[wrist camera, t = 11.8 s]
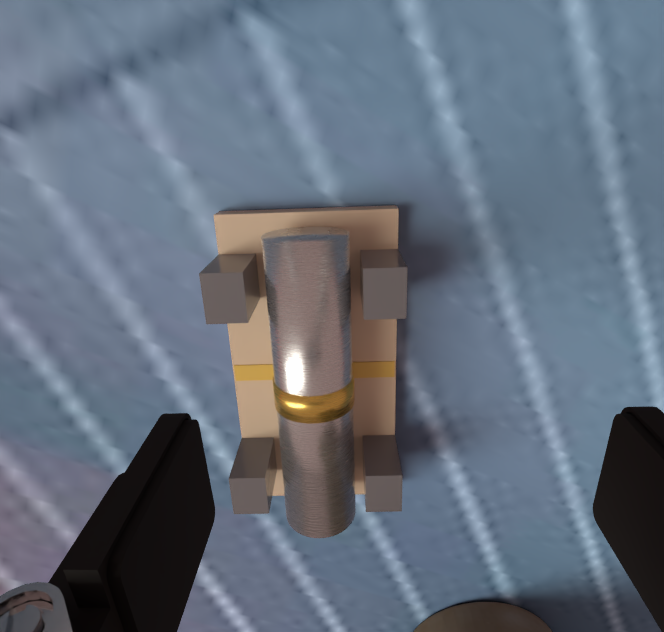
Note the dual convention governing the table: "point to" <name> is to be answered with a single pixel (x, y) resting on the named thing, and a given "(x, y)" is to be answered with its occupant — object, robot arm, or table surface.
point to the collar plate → (256, 356)
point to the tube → (313, 373)
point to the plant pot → (483, 619)
